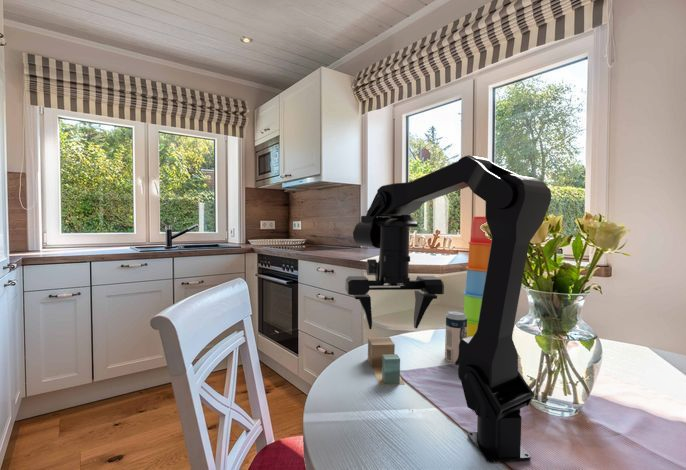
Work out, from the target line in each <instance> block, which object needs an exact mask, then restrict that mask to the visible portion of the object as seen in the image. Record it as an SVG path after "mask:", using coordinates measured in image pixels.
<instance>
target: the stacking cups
mask: <svg viewBox="0 0 686 470" xmlns="http://www.w3.org/2000/svg"><path fill="white" fill-rule="evenodd" d="M486 222H487V221H486V218H485V216H473V218H472V219H471V227H470V228H471V229H470V241H468V244H469V245H468V246H469V247H468V248H469V249H468V260H467V266H465V269H466V281H465V291H463V293H462V294H463V295H464V304H463V312H464V313H465V314H466V317H467V338H468V337H472V336H474V334H475V333H476V331H477V327H478V321H479V315H480V308H481V302H482V296H483V290H484V284H485V278H486V272H487V266H488V260H489V254H490V248H491V242H492V240H490V239H488V238H487V237H486V236H485V232H483V231H482V230H481V229H480V226H481V225H482V224H484V223H486Z"/></svg>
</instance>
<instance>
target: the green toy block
mask: <svg viewBox="0 0 686 470" xmlns="http://www.w3.org/2000/svg"><path fill="white" fill-rule="evenodd" d="M367 361H368V362H369V360H368V357H367ZM371 369H372V371H373V374H374V375H375V378H376V380H377V382H378V385H379V386H402V385H403V386H405V384H406V383H405V382H404V380H403V379H402V377H401V358H400V356H399V355H398V354H396V353H395V354H390V355H382V367H375V368H372V367H371Z"/></svg>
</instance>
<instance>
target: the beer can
mask: <svg viewBox="0 0 686 470" xmlns="http://www.w3.org/2000/svg"><path fill="white" fill-rule="evenodd" d="M464 338H467V317H466V314H465V313H464V311H459V310H449V311H447V313H446V315H445V338H444V339H445V340H444V341H445V345H444V346H445V348H444V358H445V360H446V361H447V362H450V363H454V364H455V362H456V361H457V359H458V355H459V343H460V340H461V339H464Z"/></svg>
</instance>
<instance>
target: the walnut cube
mask: <svg viewBox="0 0 686 470" xmlns="http://www.w3.org/2000/svg"><path fill="white" fill-rule="evenodd" d="M390 354H396V353H395V343H394V342H393V340H392V338H391V337H390V336H379V337H378V336H376V337H375V336H373V337H367V358H368V359H367V361H368V360H369V361H368V363H369V365H370V367H371V369H372V368H375V367H382V355H390Z"/></svg>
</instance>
